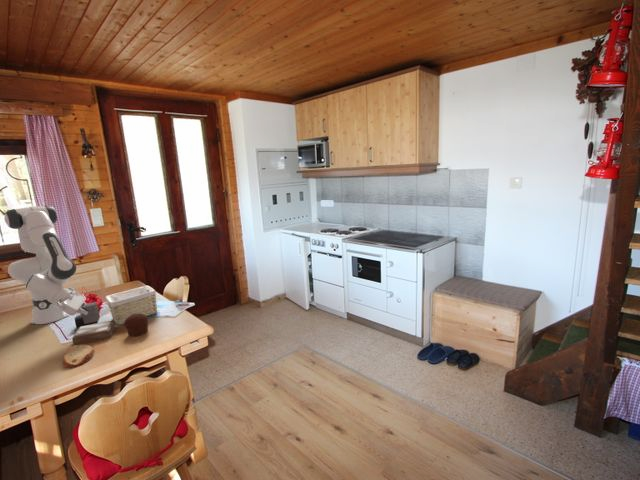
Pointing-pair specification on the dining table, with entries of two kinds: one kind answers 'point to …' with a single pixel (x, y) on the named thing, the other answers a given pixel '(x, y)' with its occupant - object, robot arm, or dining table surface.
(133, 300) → the storage basket
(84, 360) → the slice of bread
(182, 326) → the dining table surface
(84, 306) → the block
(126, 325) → the muffin
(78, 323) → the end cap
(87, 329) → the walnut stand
